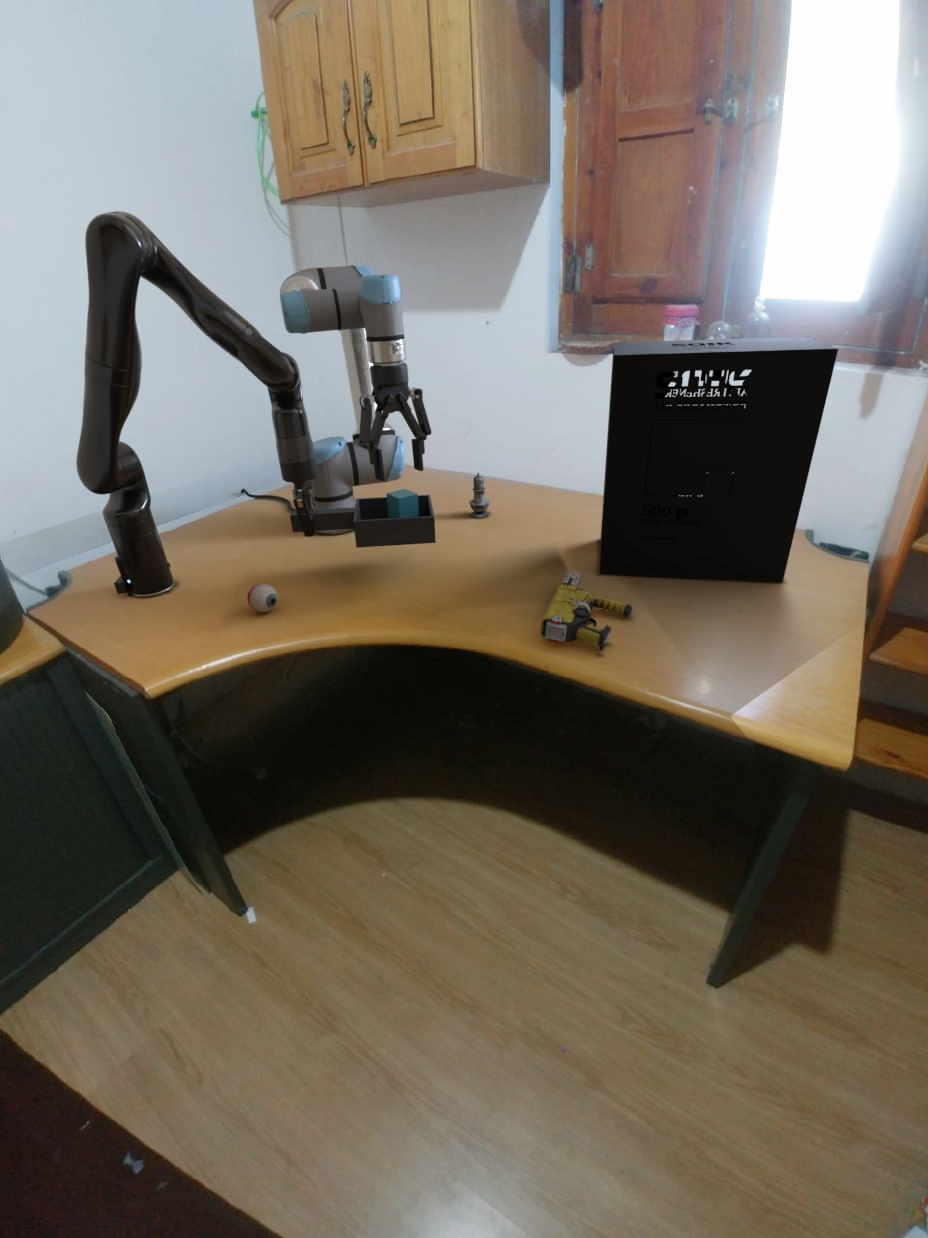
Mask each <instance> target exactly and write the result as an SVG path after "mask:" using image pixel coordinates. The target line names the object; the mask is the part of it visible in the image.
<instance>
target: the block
mask: <svg viewBox="0 0 928 1238" xmlns="http://www.w3.org/2000/svg"><path fill="white" fill-rule="evenodd" d="M418 495H419V494H418V493H416V492H414V491H412V490H410V489H408V488H402V489H399V490H394V491H389V492H387V493H386V497H387V504H388V515H389V519H391V518H409V517H419V510H418Z"/></svg>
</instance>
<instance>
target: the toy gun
mask: <svg viewBox="0 0 928 1238" xmlns="http://www.w3.org/2000/svg"><path fill="white" fill-rule="evenodd" d="M573 573H574V572H573V570H568V571H566V573H565V576H564V578H563V580H562V581H561V583H560V584H559V585H558V588H557V590H556V591H555V592H554V593H555V594H554V595H553V597H552V599H551V602H550V603H549V605H548V608H547V610H546V611H545V614H544V616H543V618H542V620H541V626H540V635H541V637H542V638H544V639H547V640H548V642H549V643H552V642H553V643H554V644H558V643H559V642H561V643H570V642H574V641H575V640H577V639H579V640H581V641H584V642H588V643H591V644H593V645H595V646H598V651H600V652H603V651H604V649H605V648H606V646H607V645H608V644H609V641H610V636H611V631H612V627H611V626H609V625H608V624H606V625H605V626H604V627H603V629H602V628H600V627H597V625H598V623H597V620H596V619H595V618H593V617H592V614H591V611H592V610H593V609H594V608H596V609H601V610H602V611H607V612H608V613H613V614H614V615H620V616H621V617H624V618H630V616H631V614H632V612H633V606H632V605H631V604H627V603H621V602H620V601H617V602H616V601H615V600H613V599H612V600H610V599H609V598H604V597H602V596H599V595H598V596H596V598H594V600H593V598H592V596H591V594H590V593H589V592H586V591H582V590H580V588H581V583H582V578H583V576H582V573H581V572H578V571H577V572H576V573H575V574H573ZM572 576H573V578H572Z"/></svg>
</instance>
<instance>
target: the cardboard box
mask: <svg viewBox="0 0 928 1238" xmlns="http://www.w3.org/2000/svg"><path fill="white" fill-rule="evenodd" d="M612 347H613V348H612V363H611V375H610V376H611V377H610V393H609V407H608V423H607V437H606V452H605V469H604V482H603V495H602V497H603V498H602V514H601V525H600V526H601V527H600V545H599V570H598V571H599V575H612V576H632V577H633V576H634V577H635V576H637V577H659V578H679V579H680V578H682V579H701V580H702V579H703V580H729V581H754V582H772V583H773V582H774V583H775V582H776V583H783V582H784V579H785V574H786V570H787V567H788V563H789V557H790V553H791V549H792V545H793V541H794V537H795V536H794V535H795V532H796V527H797V524H798V519H799V515H800V511H801V506H802V503H803V500H804V499H803V498H804V495H805V490H806V486H807V483H808V477H809V474H810V469H811V466H812V465H811V464H812V460H813V456H814V453H815V448H816V444H817V439H818V436H819V431H820V428H821V423H822V419H823V415H824V411H825V406H826V403H827V398H828V394H829V391H830V386H831V382H832V377H833V373H834V370H835V364H836V360H837V357H838V353H839V348H838V347H835V346H832V345H830V344H827V343H825V342H822V341H819V340H816V339H815V338H811V337H809V336H805V335H804V336H780V337H779V336H775V337H774V336H773V337H749V338H748V337H747V338H745V337H744V338H743V337H742V338H721V339H720V338H717V339H716V338H715V339H689V340H688V339H687V340H684V339H683V340H656V341H655V340H653V341H625V342H624V341H623V342H621V341H620V342H613V346H612ZM696 371H697V372H701V373H700V376H699V375H696ZM745 371H750V372H749V373H748V374H747V375H742V374H743V372H745ZM676 372H677V375H676ZM686 372H689V373H688V381H687V385H683V382H684V381H683V380H684V376H683V375H684V374H685V373H686ZM711 372H712V373H711ZM732 373H733V378H732V381H733V382H739V381H742V382H741V385H740V384H739V385H736V384H735V385H732V384H731V383H730V378H731V374H732ZM711 374H712V375H711ZM700 382H702V385H700ZM713 382H718V385H712V384H713ZM671 383H675V385H674V386H673V385H671V386H670V384H671Z"/></svg>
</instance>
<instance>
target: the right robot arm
mask: <svg viewBox="0 0 928 1238" xmlns="http://www.w3.org/2000/svg"><path fill="white" fill-rule="evenodd" d="M400 285H401V284H400V279H399V277H398V275H397V274H395V273H383V274H382V273H381V274H375V273H374V271H373V270H372V269H371V268H370V267H369V266H367V265H354V264H350V265H343V266H342V265H339V266H325V267H323V266H322V267H308V268H305V269H301V270H299V271H297V272H294V273H292V274H291V275H289V276H288V277H286V279H285V280H284V281H283V282H282V283H281V286H280V289H279V302H280V307H281V314H282V318H283V323H284V328H285V331H286V332H287V333H289V334H300V335H301V334H302V335H305V334H309V333H319V332H330V331H338V332H339V333H340V338H341V343H342V350H343V355H344V356H343V357H344V362H345V367H346V373H347V378H348V385H349V391H350V397H351V403H352V409H353V414H354V420H355V429H354V431H353V433H352V434H351V437H352V441H347V440H346V438H345V437H343V436H329V437H325V438H321V439H317V440H315V441H312V442H313V447H314V452H315V458H316V464H317V470H318V476H317V477H316V478H315V479H313V480H310V481H312V483H313V495H314V500H315V501H314V504H315V508H314V509H315V510H318V509H336V508H354V507H355V505H356V498H355V495H354V489H353V487H358V486H359V487H360V486H367V485H375V484H382V483H384V484H385V483H388V482H394V481H399V479H400V480H401V478H402V476H403V474H404V467H405V445H404V441H403V437H402V436H401V435H397V434H396V430H395V428H394V427H393V426H392V425H390V424H389V420H388V418H389V415H390V414H393V413H395V412H399V413H400V414H401V416H402V418H403V419H404V421H405V422H406V424H407V427H408V428H409V430H410V431H411V434H412V435H413V437H414V438H411V449H412V459H413V460H412V461H413V470H417V471H419V472H423V471H424V470H425V469H424V458H423V457H424V456H423V455H424V454H425V453H426V450H425V448H426V447H425V441H426V440H427V439H428V436H431V435H432V428H431V425H430V422H429V418H428V414H427V411H426V407H425V404H424V400H423V399H424V398H423V397H424V394H423V392H424V391H423V389H422V388H419V387H412V388H410V386H409V370H408V369H409V368H408V365H407V363H406V362H405V361H406V360H407V350H406V341H405V340H406V338H405V329H404V328H405V327H404V316H403V305H402V304H403V303H402V296H403V295H402V294H403V293H402V291H401V286H400ZM409 398H410V399H411V403H412V406H413V410H414V413H415V415H414V414H413V412H412V408H411V406H410V404H409V403H408V400H409ZM415 416H416V417H415ZM240 494H245V495H246V496H247V497H249V498H252V499H274V500H279V501H283V502H285V503H287V507H288V509H289V510H290V511H291V512H292V511H296V509H295V507H292V502H291V501H290V500H289V499H288V498H285V497H283V496H278V495H273V494H271V495H270V494H251V493H249V492H248V491H247V490H246V488H241V490H240ZM353 531H354V529H344V530H327V531H314V532H315V534H317V535H323V536H324V535H325V536H327V535H329V536H331V535H339V534H340V535H341V534H345V533H350V532H353Z"/></svg>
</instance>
